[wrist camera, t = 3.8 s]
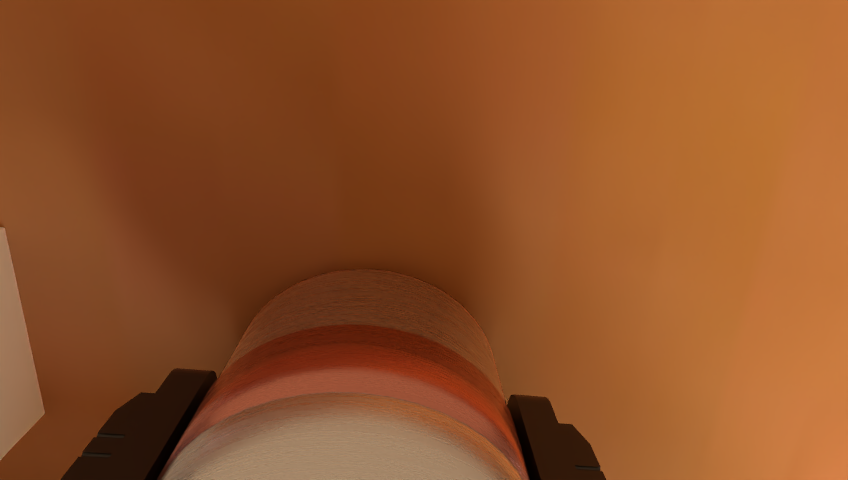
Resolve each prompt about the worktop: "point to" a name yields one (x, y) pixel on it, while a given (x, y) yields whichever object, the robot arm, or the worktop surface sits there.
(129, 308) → the worktop surface
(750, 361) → the worktop surface
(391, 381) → the tin
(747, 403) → the worktop surface
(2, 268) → the carton
